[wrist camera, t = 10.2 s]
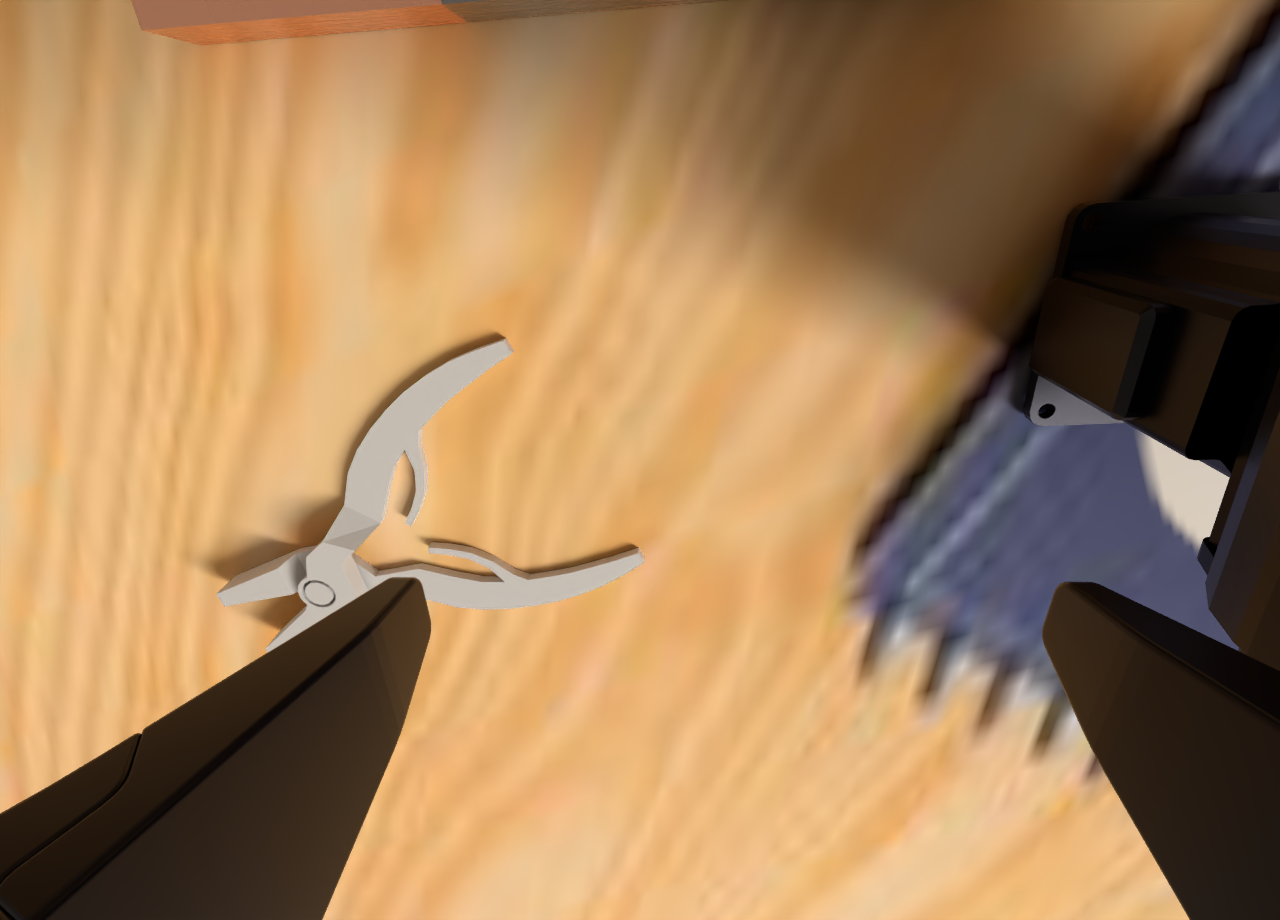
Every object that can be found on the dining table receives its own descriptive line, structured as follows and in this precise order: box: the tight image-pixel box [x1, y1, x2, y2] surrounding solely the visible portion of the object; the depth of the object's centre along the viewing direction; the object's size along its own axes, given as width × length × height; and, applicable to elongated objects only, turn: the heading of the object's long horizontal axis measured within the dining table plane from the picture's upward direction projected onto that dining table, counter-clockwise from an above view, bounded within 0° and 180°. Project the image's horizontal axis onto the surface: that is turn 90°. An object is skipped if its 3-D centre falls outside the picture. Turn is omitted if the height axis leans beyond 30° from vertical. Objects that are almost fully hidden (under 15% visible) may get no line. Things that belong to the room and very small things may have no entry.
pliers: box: [217, 338, 644, 652], centre depth 23 cm, size 10×2×15 cm
